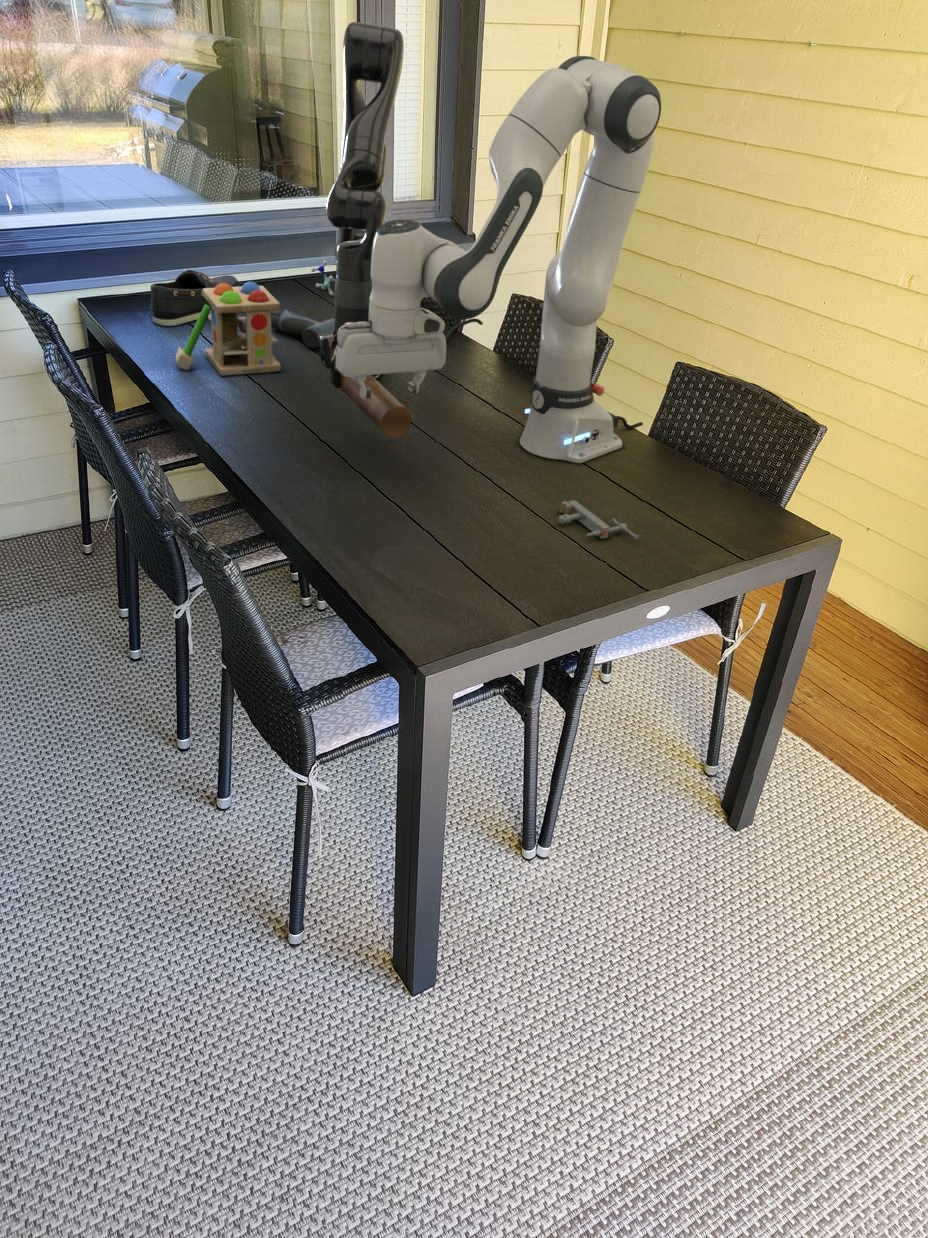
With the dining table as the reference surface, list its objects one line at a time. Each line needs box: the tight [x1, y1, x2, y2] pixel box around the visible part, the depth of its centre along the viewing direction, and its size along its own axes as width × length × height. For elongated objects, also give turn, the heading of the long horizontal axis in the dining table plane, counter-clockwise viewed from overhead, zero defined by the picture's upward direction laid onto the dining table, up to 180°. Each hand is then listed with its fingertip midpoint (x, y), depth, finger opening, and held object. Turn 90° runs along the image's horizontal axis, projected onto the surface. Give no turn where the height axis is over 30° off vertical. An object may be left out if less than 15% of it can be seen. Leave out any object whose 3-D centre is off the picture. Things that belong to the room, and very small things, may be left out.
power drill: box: [271, 308, 335, 349], centre depth 252 cm, size 5×19×20 cm
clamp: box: [558, 499, 640, 541], centre depth 178 cm, size 15×2×10 cm
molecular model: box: [310, 260, 336, 297], centre depth 283 cm, size 12×10×10 cm
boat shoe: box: [149, 269, 241, 327], centre depth 259 cm, size 13×33×10 cm, turn 147°
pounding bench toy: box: [174, 281, 282, 377], centre depth 225 cm, size 23×14×18 cm, turn 116°
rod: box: [340, 374, 412, 438], centre depth 188 cm, size 25×6×6 cm, turn 27°
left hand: (352, 385), depth 195 cm, fingers closed on rod, 6 cm apart
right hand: (389, 394), depth 179 cm, fingers open, 8 cm apart
